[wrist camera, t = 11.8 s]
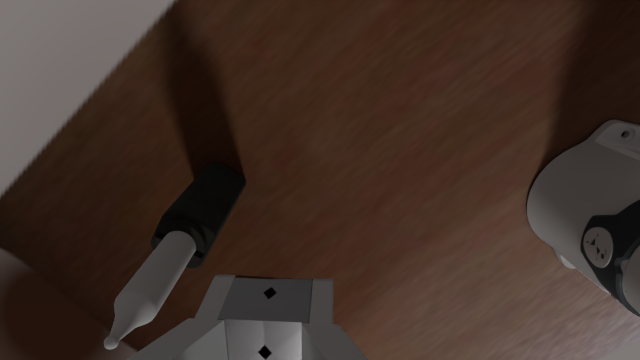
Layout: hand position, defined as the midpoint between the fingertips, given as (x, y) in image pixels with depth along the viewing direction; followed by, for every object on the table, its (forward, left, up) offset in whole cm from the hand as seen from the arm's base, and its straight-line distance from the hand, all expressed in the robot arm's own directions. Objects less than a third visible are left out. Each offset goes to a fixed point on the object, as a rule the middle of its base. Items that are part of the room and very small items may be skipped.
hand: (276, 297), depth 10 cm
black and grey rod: (+12, +12, -34) cm, 38 cm away
